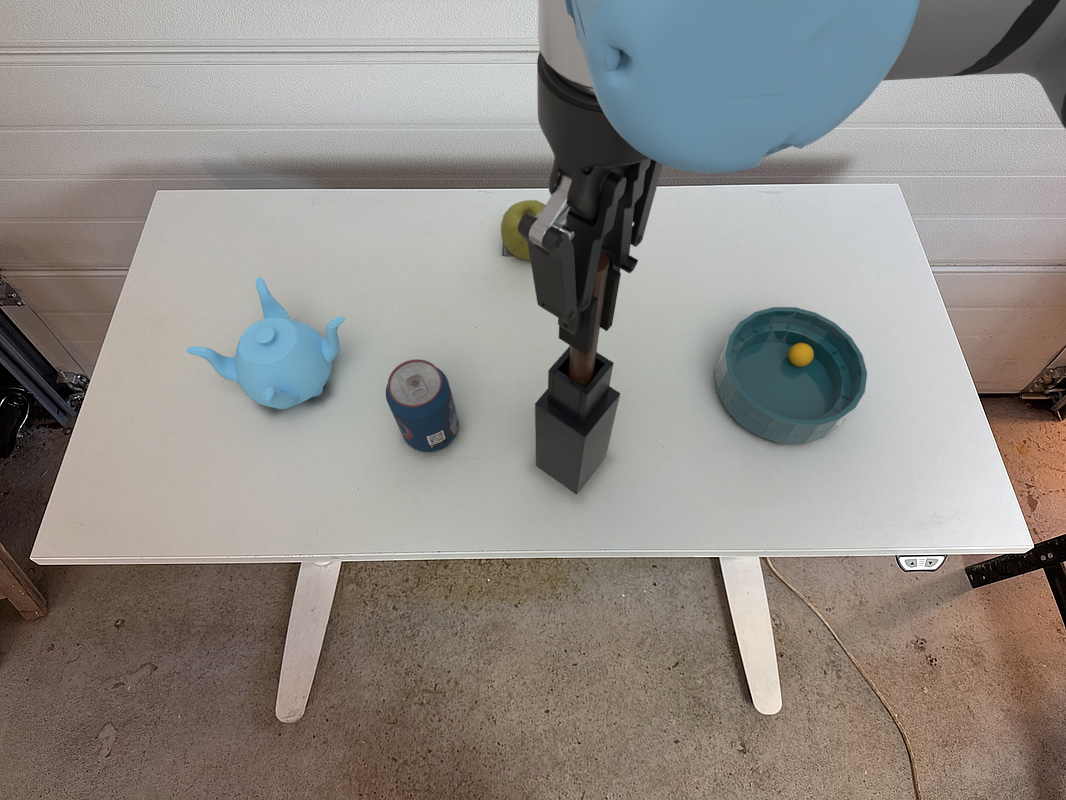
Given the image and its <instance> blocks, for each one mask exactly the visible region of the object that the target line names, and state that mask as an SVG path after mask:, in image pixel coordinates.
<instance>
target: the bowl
mask: <svg viewBox="0 0 1066 800" xmlns="http://www.w3.org/2000/svg"><path fill="white" fill-rule="evenodd" d="M797 343H806V344H808V345H809V346H811V348H812V349H813V352H814V357H813V360H812V361H811V363H810V364H808V365H806V366H803V367H798V366H795V365H793V364H792V363H791V362H790V361H789V358H788V352H789V349H790V348H791V347H792V346H793V345H795V344H797ZM714 378H715V387H716V392H717V395H718V397H719V399H720V401H721V403H722V404H723V407H724V409H725V411H727V413H728V414H729V415H730V416H731V417H732V418H733V419H734V420H735V422H737V424H739V426H740V427H743V428H744V429H745V430H747V431H749V432H750V433H752V434H754V435H756V436H758V437H759V438H761V439H765V440H769V441H772V442H775V443H778V444H792V445H794V444H795V445H799V444H801V445H803V444H806V443H810V442H813V441H817V440H821V439H822V438H823V439H824V438H825V436H827V435H829V434H830V433H831V432H832V431H834V430H835V429H836V428H838V427H839V425H840V424H842V423H843V421H844V420H845V419H846V418H847V417H849V415H850V414H851V413H852V412H853V411H854V410H855V409H856V408H857V406H858V404H859V403H860V401H861V400H862V397H864V394H865V393H866V386H867V379H868V371H867V367H866V363H865V359H864V355H863V353H862V351H861V350H860V349H859V347H858V345H857V344H856V343H855V341H854V339H853V337H852V336H850V335H849V334H848V333H847V332H846V331H845V330H844V329H842V327H841V326H839V325H838V324H837V323H836V322H834V321H833V320H830V319H829V318H827V317H826V316H823V315H821V314H819V313H817V312H815V311H810V310H807V309H804V308H799V307H794V306H772V307H768V308H765V309H761V310H757V311H754V312H752V313H751V314H750V315H748V316H747V317H745V318H743V319H742V320H740V321H739V322H738V323H737V325H736V326H735V328H734V329H733V330H732V332H731V333H730V334H729V336H728V338H727V340H726V342H725V344H724V347H723V349H722V351H721V353H720V355H719V357H718V359H717V364H716V368H715V371H714Z"/></svg>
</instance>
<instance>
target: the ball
mask: <svg viewBox="0 0 1066 800" xmlns="http://www.w3.org/2000/svg"><path fill="white" fill-rule="evenodd" d="M813 357H814V352H813V349H812V348H811V346H809V345H808V344H806V343H797V344H795V345H793V346H792V347H791V348H790V349H789V352H788V358H789V361H790V362H791V363H792V364H793V365H795V366H798V367H803V366H806V365H808V364H810V363H811V361H812V360H813Z"/></svg>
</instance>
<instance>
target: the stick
mask: <svg viewBox="0 0 1066 800" xmlns="http://www.w3.org/2000/svg"><path fill="white" fill-rule="evenodd" d="M608 267H609V260H608V257H607V256H606V255H605V254H604V253H603V252H601V251H600V257H599V262H598V267H597V272H596V277H595V283H594V288H593V293H592V295H593V296H595V297H596V298H598V304H597V312H596V320H595V328H594V336H593V343H592V349H591V351H590V352H589V353H588V354H587V355H585V354H583V353H582V352H580V351H578V350H577V349H575V348H574V347H572V346H571V349H570V363H569V376H568V377H570V378H571V379H573V380H574V381H576V382H577V383H579V384H580V385H582V386H584V387H586V386H587V385H588V384H589V382H590V381H591V380H592V379H593V373H594V366H595V359H596V352H597V353H598V344H599V337H600V329H601V328H600V324H601V316H602V309H603V302H604V295H605V288H606V281H607V274H608Z"/></svg>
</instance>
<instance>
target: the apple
mask: <svg viewBox="0 0 1066 800" xmlns="http://www.w3.org/2000/svg"><path fill="white" fill-rule="evenodd" d="M545 206H546V204H545V203H544V202H541V201H539V200H534V199H528V200H522V201H519V202H516V203H514V204H513V205H512V204H511V206H510V207H508V209H506V211H505V213H504V215H503V217H502V219H501V224H500V234H501V239H502V242H503V244H504V246H505V248H506V249H507V250H508V251H509V252H510V254H512V255H513V256H514V257H515V258H518V259H520V260H525V261H530V254H529V248H528V242H527V241H526V240H525V239H524V238H523V237H522V236H521V235H520V234H519V232H518V224H519V222H520V220H521V218H522V217H523V216H524V215H525V214H526V213H530V214H532V215H534V216H535V217H536V215H537V214H538V213H541V212H542V211H543V209H544V207H545Z"/></svg>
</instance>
